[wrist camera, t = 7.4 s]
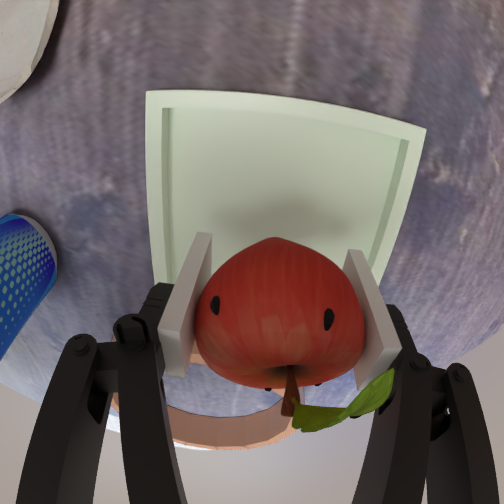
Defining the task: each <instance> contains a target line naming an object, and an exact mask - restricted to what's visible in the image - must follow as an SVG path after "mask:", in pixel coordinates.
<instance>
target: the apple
mask: <svg viewBox="0 0 504 504" xmlns="http://www.w3.org/2000/svg"><path fill="white" fill-rule="evenodd" d="M194 329H195V339H196V344H197V347H198V350H199V353H200V355H201V357H202V358H203V360H204V361H205V363H206V364H207V365H208V366H209V367H210V368H211V369H212V370H213V371H214V372H216V373H217V374H219V375H220V376H222V377H224V378H226V379H228V380H230V381H233V382H235V383H238V384H241V385H244V386H248V387H253V388H259V389H265V391H271V390H272V389H285V393H284V397H283V402H282V407H281V415H282V416H285V417H293V419H292V427H293V428H294V429H300V428H302V429H301V431H302V432H315V431H318V430H321V429H323V428H327V427H331V426H333V425H335V424H338V423H340V422H342V421H343V420H344V419H346V418H347V417H348V416H349V417H350V418H354V419H355V418H358V417H360V416H362V415H364V414H367V413H369V412H372V411H374V410H375V409H377V408H378V407H380V406H381V405H382V404H383V403H384V402H385V401H386V400H387V399H388V397H389V395H390V392H391V389H392V384H393V377H394V372H395V370H393V369H394V368H392V369H390V370H388V371H386V372H384V373H382V374H381V375H379V376H378V377H376V378H375V379H373V380H372V381H371V382H370V383H369V384H368V385H367V386H366V387H365V388H364V389H363V390H362V391H361V392H360V393H359V395H358V396H357V397H356V398H355V399H354V400H353V401H352V402H351V403H350V405H349V406H348V407H347V408H337V407H320V406H310V405H303V404H301V402H300V393H299V389H298V387H304V386H310V385H315V386H319V385H321V384H322V383H323V382H326V381H329V380H331V379H334V378H337V377H339V376H341V375H343V374H345V373H346V372H348V371H349V370H351V369H352V368H353V367H354V366H355V365H356V364H357V362H358V360H359V359H360V357H361V354H362V351H363V347H364V340H365V323H364V317H363V312H362V309H361V306H360V303H359V300H358V297H357V295H356V292H355V290H354V288H353V286H352V284H351V282H350V280H349V279H348V277H347V276H346V275H345V273H344V272H343V271H342V270H341V269H340V268H339V267H338V266H337V265H336V264H335V263H334V262H332V261H331V260H330V259H328V258H327V257H326V256H324V255H322V254H321V253H319V252H317V251H315V250H313V249H311V248H309V247H306V246H303V245H301V244H298V243H295V242H293V241H290V240H286V239H283V238H280V237H269V238H266V239H264V240H261V241H259V242H257V243H255V244H253V245H251V246H249V247H247V248H245V249H243V250H242V251H240V252H238V253H237V254H235V255H234V256H232V257H231V258H230V259H228V260H227V261H226V262H225V263H224V264H222V265H221V266H220V267H219V268H218V269H217V271H216V272H215V273H214V274H213V275H212V276H211V278H210V279H209V281H208V282H207V284H206V285H205V287H204V289H203V291H202V293H201V295H200V298H199V301H198V303H197V308H196V312H195V322H194Z"/></svg>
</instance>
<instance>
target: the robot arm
mask: <svg viewBox="0 0 504 504" xmlns="http://www.w3.org/2000/svg"><path fill="white" fill-rule="evenodd" d="M211 264H212V233H205V232H197V234H196V236H195V238H194V240H193V243H192V245H191V247H190V250H189V252H188V254H187V257H186V259H185V261H184V264H183V266H182V268H181V271H180V273H179V276H178V278H177V280H176V283H175V284H169V283H162V282H158V283H157V284H156V285H155V286H154V287H152V288H151V289H150V291H149V294H148V296H147V299H146V300H145V302H144V304H143V306H142V308H141V310H140V312H139V314H128V315H124V316H122V317H121V318H119V319H118V320H117V321H116V322H115V323H114V326H113V332H114V335H115V338H116V341H115V342H104V343H97V342H96V339H95V338H94V337H92V336H91V335H88V334H78V335H75V336H73V337H72V338H70V339H69V340H68V342H67V343H66V345H65V347H64V349H63V352H62V354H61V356H60V359H59V361H58V363H57V366H56V368H55V371H54V373H53V376H52V378H51V381H50V383H49V386H48V389H47V391H46V394H45V397H44V400H43V403H42V406H41V408H40V411H39V414H38V417H37V420H36V423H35V427H34V430H33V433H32V436H31V440H30V444H29V447H28V450H27V454H26V458H25V462H24V467H23V470H22V474H21V479H20V484H19V489H18V494H17V499H16V504H93V496H94V489H95V482H96V476H97V470H98V464H99V458H100V453H101V447H102V443H103V438H104V433H105V428H106V424H107V419H108V415H109V410H110V406H111V402H112V398H113V394H114V393H118V401H119V419H120V432H121V443H122V453H123V462H124V469H125V476H126V483H127V490H128V495H129V501H130V504H187V500H186V496H185V492H184V488H183V484H182V481H181V476H180V471H179V467H178V462H177V458H176V453H175V448H174V443H173V438H172V433H171V427H170V422H169V416H168V410H167V404H166V397H165V391H164V384H163V379H162V376H163V373H164V369H165V370H166V375H170V376H175V377H181V378H185V377H186V373H187V369H188V365H189V361H190V357H191V353H192V349H193V345H194V341H195V329H194V322H195V312H196V308H197V303H198V301H199V298H200V295H201V293H202V291H203V289H204V287H205V285H206V284H207V282H208V281H209V279H210V278H211ZM342 271H343V272H344V273H345V275H346V276H347V277H348V279H349V280H350V282H351V284H352V286H353V288H354V290H355V292H356V295H357V297H358V300H359V303H360V306H361V309H362V312H363V317H364V323H365V340H364V347H363V351H362V354H361V357H360V359H359V360H358V362H357V364H356V365H355V366H354V367H353V369H354V374H355V379H356V384H357V390H363V389H364V388H365V387H366V386H367V385H368V384H369V383H370V382H371V381H372V380H373V379H375V378H376V377H378V376H379V375H381V374H382V373H384V372H386V371H388V370H390V369H392V368H394V369H393V370H395V372H394V377H393V384H392V389H391V392H390V395H389V397H388V399H387V400H386V401H385V402H384V403H383V404H382V405H381V406H380V407H378V408H377V409H375V413H374V418H373V423H372V428H371V433H370V438H369V442H368V446H367V451H366V455H365V459H364V463H363V467H362V470H361V474H360V478H359V481H358V485H357V488H356V491H355V495H354V498H353V501H352V504H421V502H422V496H423V491H424V485H425V479H426V483H427V501H428V504H499V495H498V485H497V478H496V472H495V465H494V460H493V454H492V449H491V444H490V440H489V436H488V431H487V427H486V423H485V420H484V415H483V411H482V408H481V404H480V401H479V397H478V394H477V391H476V388H475V385H474V382H473V378H472V376H471V373H470V371H469V370H468V369H467V368H466V367H465V366H464V365H462V364H460V363H452V364H451V365H450V366H449V367H448V368H447V369H446V370H445V369H441V368H437V367H433V366H431V363H430V361H429V360H428V358H426V357H425V356H424V355H422V354H420V353H418V352H417V350H416V347H415V345H414V342H413V340H412V337H411V335H410V332H409V330H408V329H407V328H408V327H407V325H406V323H405V320H404V318H403V316H402V313H401V312H400V311H399V310H398V308H397V307H396V306H395V305H391V304H385V302H384V300H383V297H382V295H381V293H380V290H379V288H378V286H377V283H376V281H375V279H374V276H373V274H372V272H371V270H370V267H369V265H368V263H367V261H366V258H365V256H364V254H363V252H362V250H355V249H348V252H347V255H346V258H345V262H344V265H343V268H342ZM447 408H449V412H450V414H448V412H447Z"/></svg>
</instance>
